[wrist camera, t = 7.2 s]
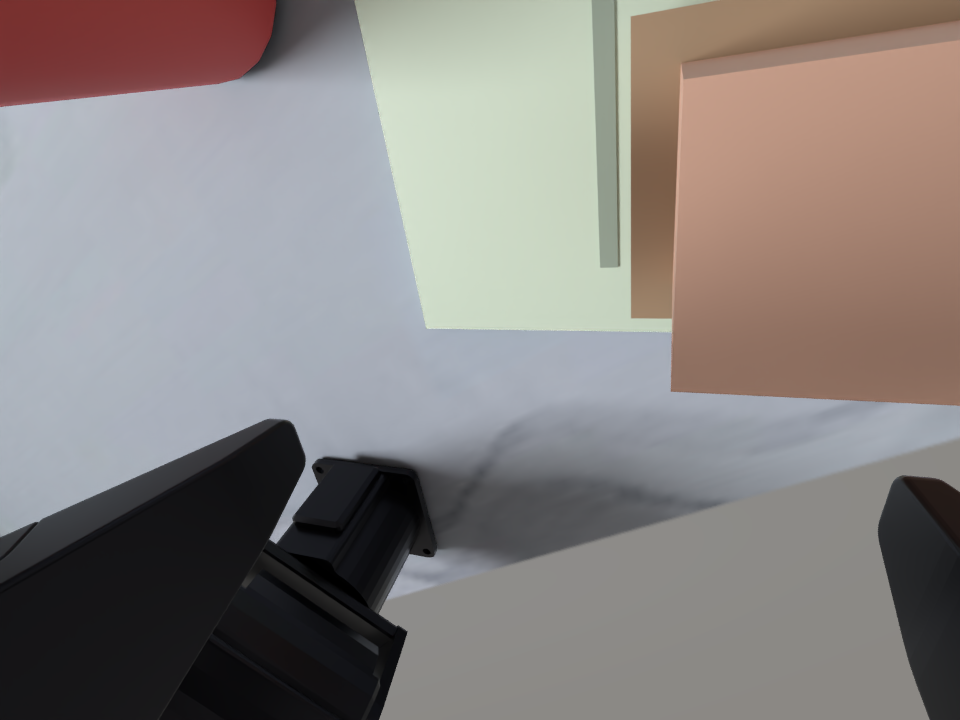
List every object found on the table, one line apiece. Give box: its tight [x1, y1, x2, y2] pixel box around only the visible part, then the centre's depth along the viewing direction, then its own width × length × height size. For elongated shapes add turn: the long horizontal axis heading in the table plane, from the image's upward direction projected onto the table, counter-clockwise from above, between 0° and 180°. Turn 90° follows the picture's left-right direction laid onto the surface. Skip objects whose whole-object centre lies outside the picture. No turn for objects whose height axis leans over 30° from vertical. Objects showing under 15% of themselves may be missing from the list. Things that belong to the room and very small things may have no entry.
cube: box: [671, 20, 960, 406], centre depth 9 cm, size 5×5×5 cm
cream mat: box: [354, 0, 717, 332], centre depth 16 cm, size 13×16×1 cm
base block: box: [631, 0, 960, 319], centre depth 13 cm, size 7×7×4 cm
